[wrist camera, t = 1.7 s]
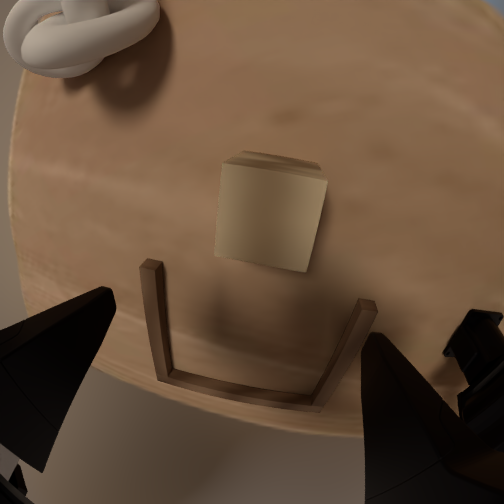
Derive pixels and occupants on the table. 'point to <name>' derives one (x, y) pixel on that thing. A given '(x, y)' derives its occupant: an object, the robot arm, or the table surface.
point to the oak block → (269, 210)
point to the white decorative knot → (75, 33)
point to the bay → (165, 373)
